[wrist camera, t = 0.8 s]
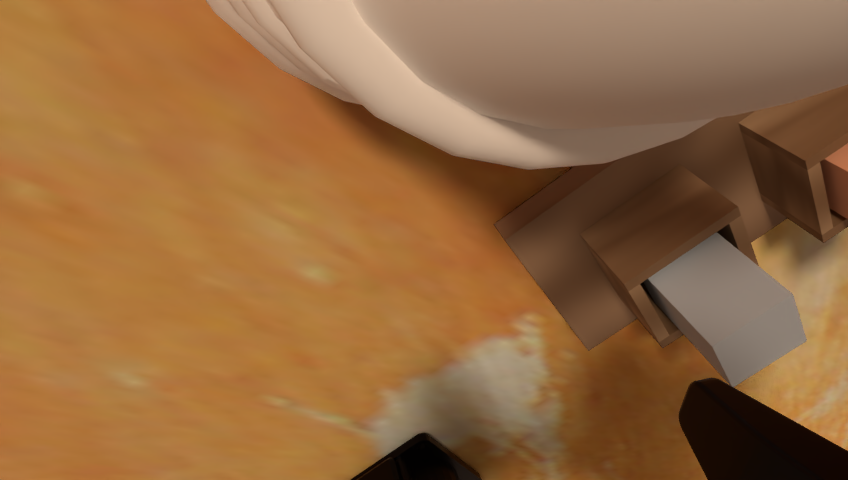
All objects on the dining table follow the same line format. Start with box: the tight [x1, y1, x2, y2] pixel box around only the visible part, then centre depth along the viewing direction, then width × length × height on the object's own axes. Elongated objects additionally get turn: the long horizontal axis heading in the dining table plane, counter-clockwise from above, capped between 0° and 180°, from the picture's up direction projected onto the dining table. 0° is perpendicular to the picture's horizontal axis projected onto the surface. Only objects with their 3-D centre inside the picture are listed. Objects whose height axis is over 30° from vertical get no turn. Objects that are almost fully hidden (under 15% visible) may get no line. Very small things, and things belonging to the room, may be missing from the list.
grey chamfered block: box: [643, 232, 807, 387], centre depth 22 cm, size 3×3×5 cm
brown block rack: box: [494, 85, 848, 351], centre depth 24 cm, size 9×25×5 cm, turn 124°
